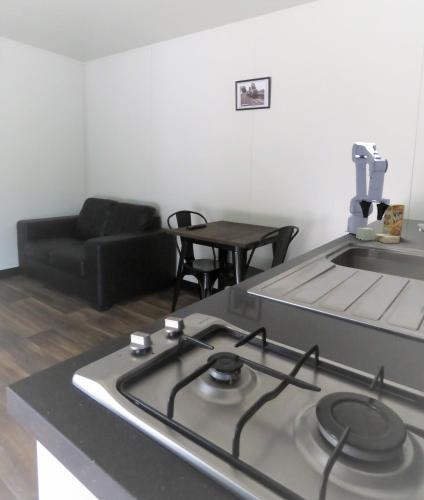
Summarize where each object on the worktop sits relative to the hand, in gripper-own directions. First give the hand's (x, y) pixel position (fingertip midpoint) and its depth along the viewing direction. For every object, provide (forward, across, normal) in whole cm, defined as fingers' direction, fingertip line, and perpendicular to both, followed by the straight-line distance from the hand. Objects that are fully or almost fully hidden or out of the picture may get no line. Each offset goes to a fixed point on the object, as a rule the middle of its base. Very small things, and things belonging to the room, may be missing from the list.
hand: (372, 218), depth 166 cm
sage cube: (+10, -2, -1) cm, 10 cm away
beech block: (+10, +5, +4) cm, 12 cm away
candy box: (+10, -2, +16) cm, 19 cm away
